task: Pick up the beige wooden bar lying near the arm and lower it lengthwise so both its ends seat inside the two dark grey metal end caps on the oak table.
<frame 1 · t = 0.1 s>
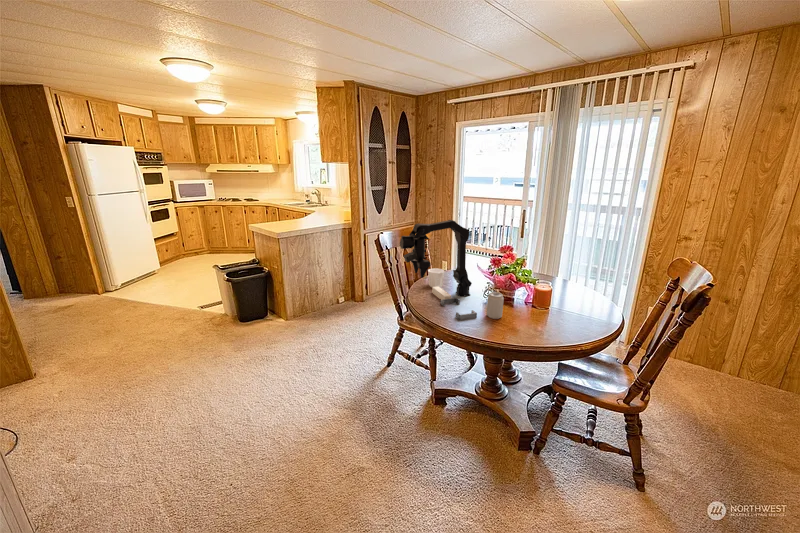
hand: (418, 275, 182), 15 cm above the table, fingers open, 9 cm apart
beige wooden bar: (441, 297, 191), on the table
end caps: (457, 310, 172), on the table
cup: (435, 286, 209), on the table
can: (494, 316, 166), on the table
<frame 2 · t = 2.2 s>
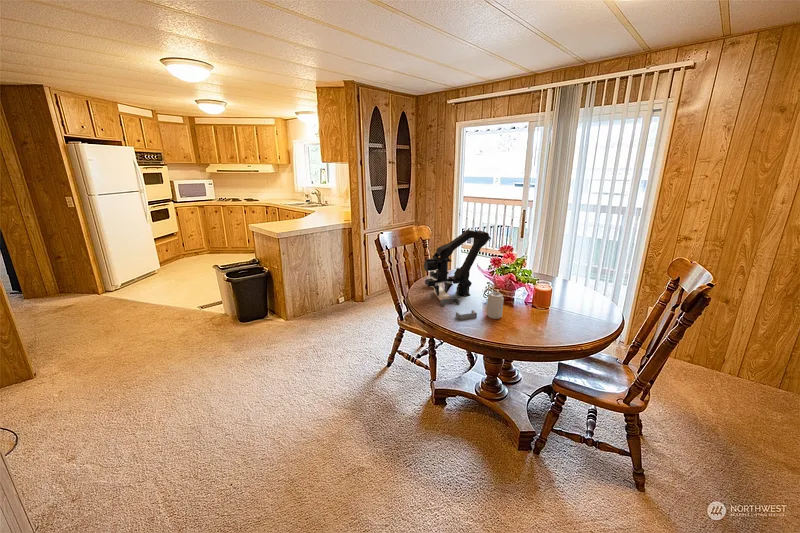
hand: (441, 295, 190), 1 cm above the table, fingers closed on beige wooden bar, 4 cm apart
beige wooden bar: (441, 297, 191), on the table, touching gripper
everything else where it was.
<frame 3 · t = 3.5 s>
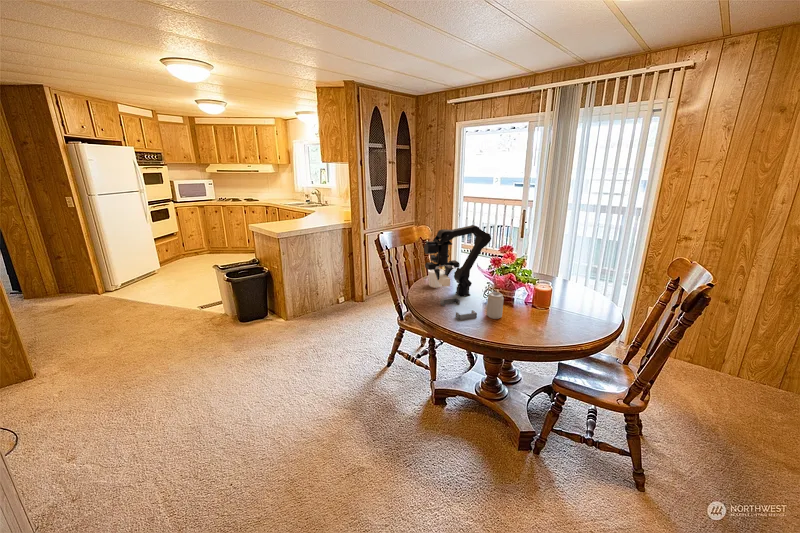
hand: (441, 279, 187), 11 cm above the table, fingers closed on beige wooden bar, 4 cm apart
beige wooden bar: (441, 281, 188), point 9 cm above the table, touching gripper
everything else where it was.
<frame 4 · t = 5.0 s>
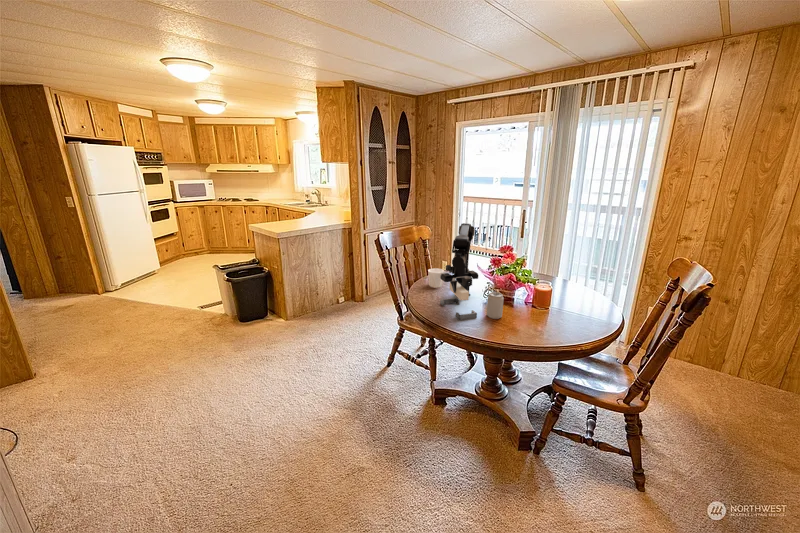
hand: (458, 292, 169), 10 cm above the table, fingers closed on beige wooden bar, 4 cm apart
beige wooden bar: (458, 294, 170), point 9 cm above the table, touching gripper
everything else where it was.
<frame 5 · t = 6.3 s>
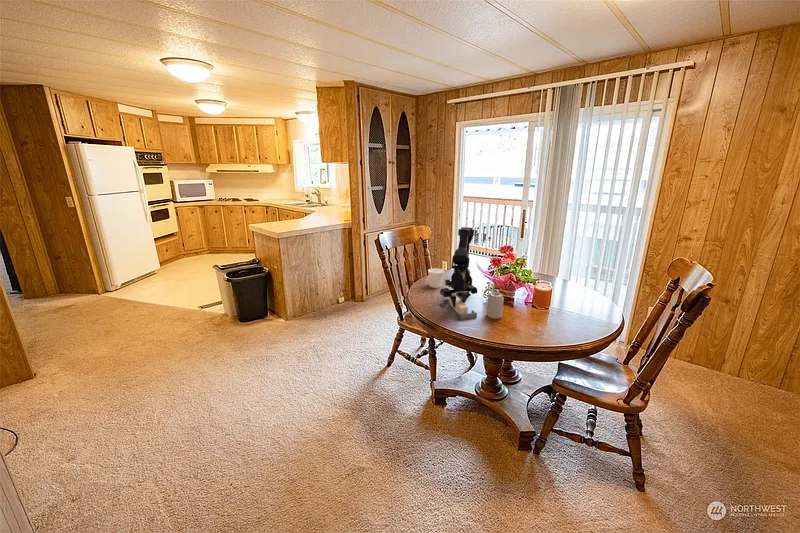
hand: (457, 306, 172), 2 cm above the table, fingers closed on beige wooden bar, 4 cm apart
beige wooden bar: (457, 308, 172), point 1 cm above the table, touching gripper
everything else where it was.
when the fingers open (2 cm above the table, at t = 7.1 s): beige wooden bar drops 1 cm, on the table.
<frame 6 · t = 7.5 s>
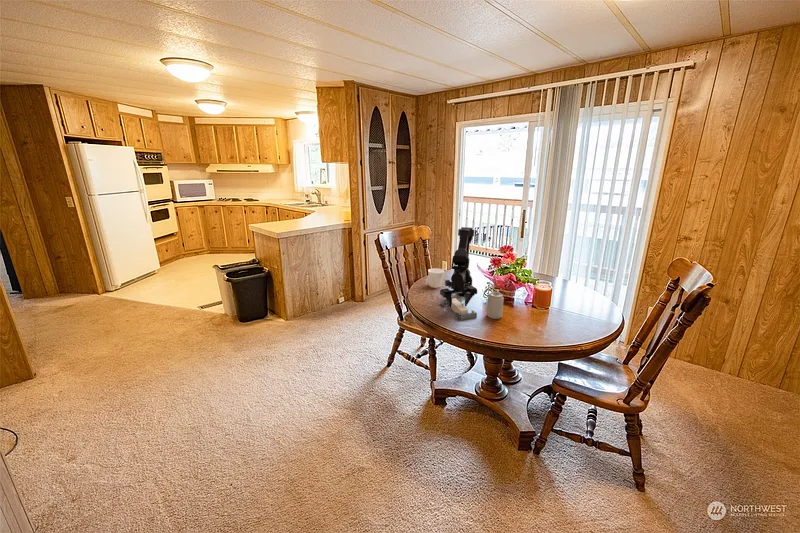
hand: (457, 307, 172), 2 cm above the table, fingers open, 9 cm apart
beige wooden bar: (457, 311, 172), on the table
everything else where it was.
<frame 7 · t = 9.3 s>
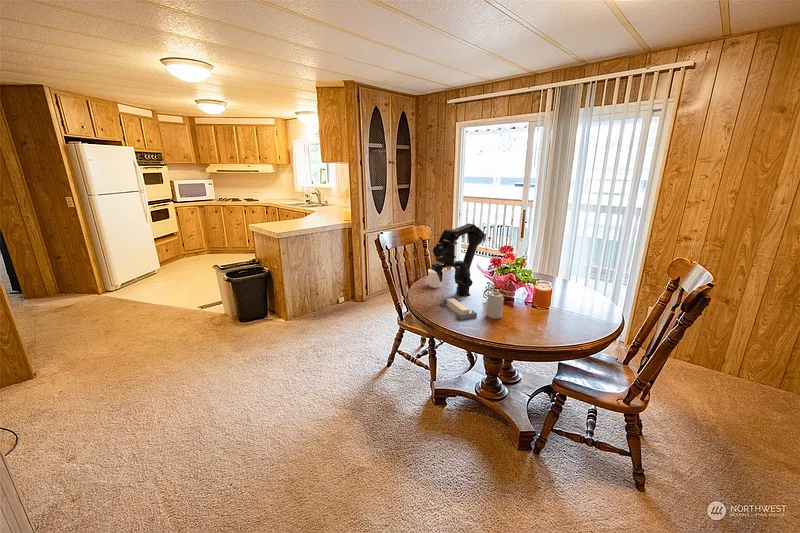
hand: (448, 280, 182), 12 cm above the table, fingers open, 9 cm apart
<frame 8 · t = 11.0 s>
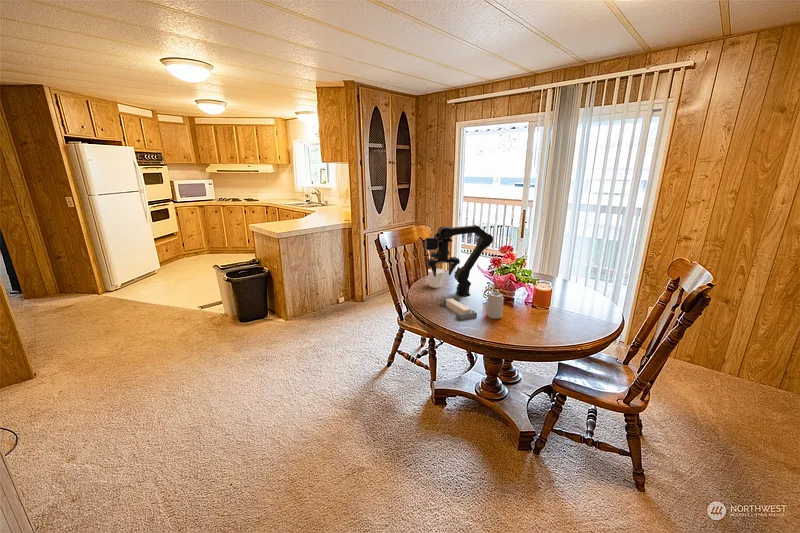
hand: (442, 276, 189), 12 cm above the table, fingers open, 9 cm apart
at the end: beige wooden bar 0.1 cm off-centre on the end caps, point 0.0 cm above the end caps's base; beige wooden bar tilted 0°; the gripper is holding nothing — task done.
